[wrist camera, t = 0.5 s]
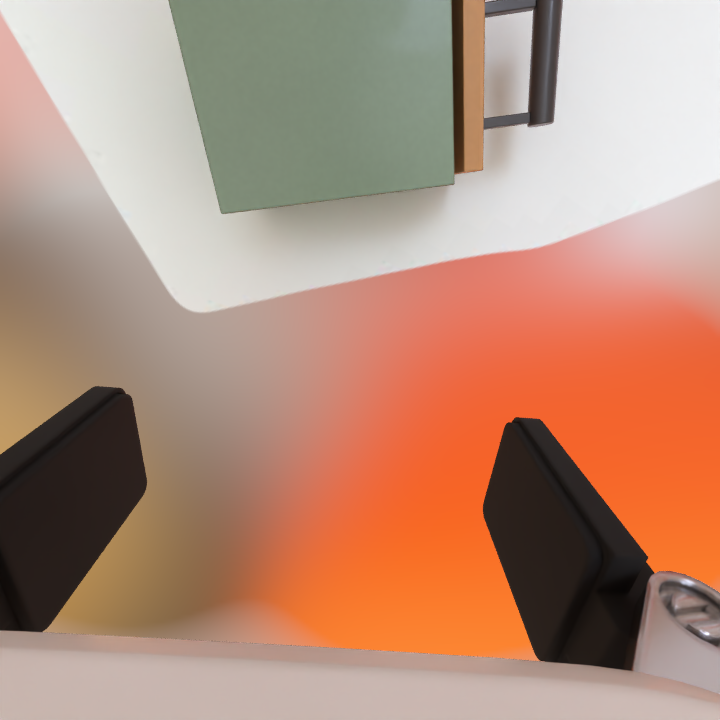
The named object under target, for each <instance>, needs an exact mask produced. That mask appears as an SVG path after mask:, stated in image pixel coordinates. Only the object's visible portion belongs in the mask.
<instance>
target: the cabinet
mask: <svg viewBox="0 0 720 720" xmlns="http://www.w3.org/2000/svg"><path fill="white" fill-rule="evenodd" d="M169 4H170V8H171V13H172V17H173V21H174V25H175V29H176V33H177V37H178V41H179V45H180V49H181V53H182V57H183V61H184V65H185V69H186V73H187V77H188V81H189V85H190V89H191V93H192V97H193V101H194V105H195V109H196V113H197V118H198V122H199V126H200V130H201V134H202V138H203V142H204V146H205V150H206V154H207V158H208V162H209V166H210V170H211V174H212V178H213V182H214V186H215V190H216V194H217V198H218V202H219V206H220V210H221V213H222V214H227V213H235V212H243V211H251V210H258V209H266V208H274V207H282V206H290V205H298V204H305V203H313V202H321V201H329V200H337V199H344V198H352V197H360V196H368V195H376V194H384V193H391V192H399V191H407V190H415V189H423V188H430V187H438V186H446V185H453V184H454V121H453V58H452V0H169Z"/></svg>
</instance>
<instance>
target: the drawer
mask: <svg viewBox="0 0 720 720" xmlns="http://www.w3.org/2000/svg"><path fill="white" fill-rule="evenodd" d="M562 4H563V0H496V1H489V2H485V0H452V58H453V121H454V175H455V174H461V173H468V172H474V171H480V170H483V130H485V129H493V128H500V127H507V126H515V125H522V124H527V126H528V127H537V126H543V125H548V124H552V123H553V122H554V111H555V97H556V84H557V71H558V57H559V44H560V31H561V17H562ZM532 10H533V25H532V45H531V64H530V84H529V103H528V113H521V114H513V115H506V116H499V117H491V118H484V34H485V18H486V17H492V16H499V15H506V14H512V13H519V12H526V11H532Z"/></svg>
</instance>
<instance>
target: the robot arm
mask: <svg viewBox="0 0 720 720" xmlns="http://www.w3.org/2000/svg"><path fill="white" fill-rule="evenodd" d="M146 486H147V478H146V473H145V467H144V462H143V456H142V451H141V445H140V439H139V434H138V428H137V423H136V417H135V412H134V406H133V401H132V398H131V396H130V395H128V394H126V393H125V391H124V390H123V389H121V388H113V387H99V386H95V387H93V388H91V389H90V390H88V391H87V392H85V393H84V394H83V395H81V396H80V397H79V398H77V399H76V400H75V401H73V402H72V403H70V404H69V405H68V406H66V407H65V408H64V409H62V410H61V411H59V412H58V413H57V414H55V415H54V416H53V417H51V418H50V419H48V420H47V421H46V422H44V423H43V424H42V425H40V426H39V427H38V428H36V429H35V430H33V431H32V432H31V433H29V434H28V435H27V436H25V437H24V438H23V439H21V440H20V441H18V442H17V443H16V444H14V445H13V446H12V447H10V448H9V449H7V450H6V451H5V452H3V453H2V454H0V720H720V593H719V592H718V591H716V590H715V589H713V588H711V587H710V586H708V585H706V584H704V583H703V582H701V581H699V580H697V579H694V578H692V577H690V576H687V575H685V574H681V573H676V572H672V571H659V572H657V573H654V572H653V571H652V569H651V568H650V567H649V565H648V564H647V563H646V560H647V559H648V556H647V555H646V554H645V553H644V551H643V550H642V549H641V548H640V546H639V545H638V544H637V542H636V541H635V540H634V538H633V537H632V536H631V535H630V534H629V532H628V531H627V529H626V528H625V527H624V526H623V524H622V523H621V522H620V521H619V519H618V518H617V517H616V515H615V514H614V513H613V512H612V510H611V509H610V508H609V506H608V505H607V504H606V503H605V501H604V500H603V499H602V497H601V496H600V495H599V494H598V492H597V491H596V490H595V488H594V487H593V486H592V485H591V483H590V482H589V481H588V479H587V478H586V477H585V476H584V474H583V473H582V472H581V471H580V469H579V468H578V467H577V465H576V464H575V463H574V462H573V460H572V459H571V458H570V456H569V455H568V454H567V453H566V451H565V450H564V449H563V447H562V446H561V445H560V444H559V442H558V441H557V440H556V438H555V437H554V436H553V435H552V433H551V432H550V431H549V429H548V428H547V427H546V426H545V424H544V423H543V422H542V421H541V420H540V419H532V418H518V417H516V418H514V420H513V421H512V423H507V424H506V425H505V428H504V431H503V435H502V439H501V442H500V446H499V449H498V453H497V456H496V460H495V464H494V467H493V471H492V474H491V478H490V482H489V485H488V489H487V492H486V496H485V500H484V504H483V514H484V519H485V521H486V524H487V527H488V529H489V532H490V535H491V538H492V540H493V543H494V546H495V548H496V551H497V554H498V556H499V559H500V562H501V564H502V567H503V570H504V572H505V575H506V578H507V580H508V583H509V586H510V589H511V591H512V594H513V596H514V599H515V602H516V605H517V607H518V610H519V613H520V615H521V618H522V621H523V623H524V626H525V629H526V631H527V634H528V637H529V640H530V642H531V645H532V648H533V650H534V653H535V655H536V656H537V658H538V659H539V660H540V661H529V660H516V659H504V658H490V657H474V656H458V655H442V654H426V653H409V652H394V651H376V650H361V649H345V648H327V647H310V646H309V647H308V646H292V645H274V644H257V643H239V642H220V641H202V640H184V639H166V638H165V639H164V638H146V637H125V636H106V635H86V634H66V633H46V632H44V633H43V631H44V630H45V629H47V628H48V626H49V625H50V624H51V623H52V621H53V620H54V619H55V617H56V616H57V615H58V613H59V612H60V610H61V609H62V608H63V606H64V605H65V603H66V602H67V601H68V599H69V598H70V596H71V595H72V594H73V592H74V591H75V589H76V588H77V587H78V585H79V584H80V582H81V581H82V580H83V578H84V577H85V576H86V574H87V573H88V571H89V570H90V569H91V567H92V566H93V564H94V563H95V562H96V560H97V559H98V557H99V556H100V554H101V553H102V552H103V551H104V549H105V548H106V546H107V545H108V544H109V542H110V541H111V539H112V538H113V537H114V535H115V534H116V532H117V531H118V530H119V528H120V527H121V525H122V524H123V523H124V521H125V520H126V519H127V517H128V516H129V514H130V513H131V512H132V510H133V509H134V507H135V506H136V505H137V503H138V502H139V500H140V499H141V498H142V496H143V495H144V493H145V490H146ZM541 661H545V662H541Z"/></svg>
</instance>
